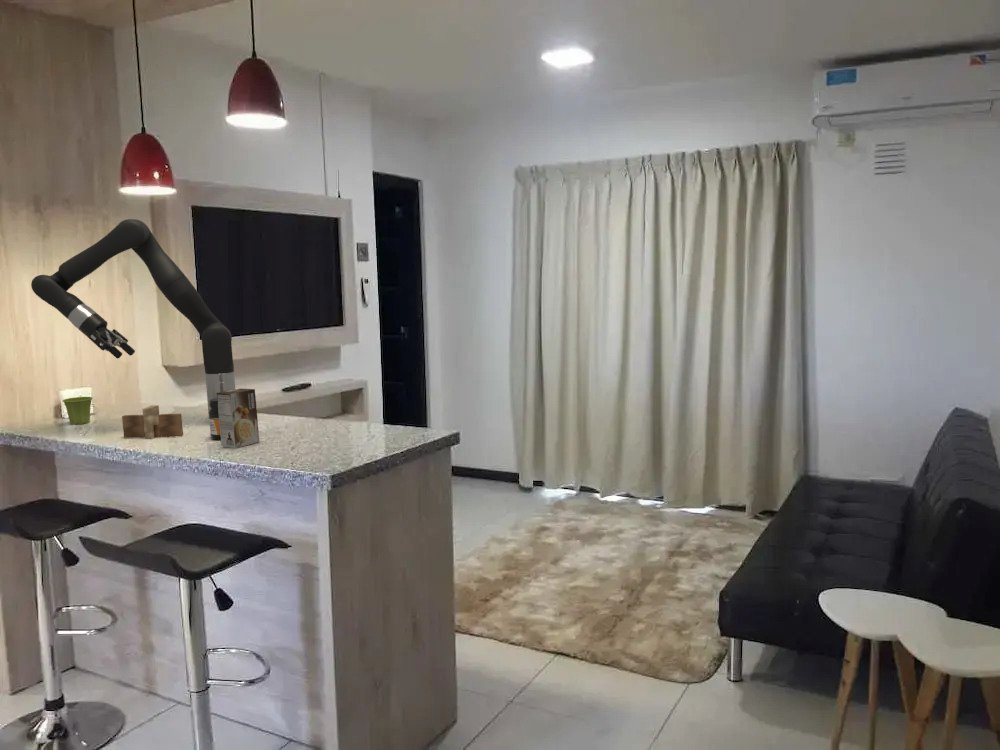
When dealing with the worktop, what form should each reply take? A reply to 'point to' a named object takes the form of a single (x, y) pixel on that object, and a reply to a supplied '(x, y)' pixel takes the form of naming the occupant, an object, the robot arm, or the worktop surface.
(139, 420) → the walnut board
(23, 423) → the worktop surface
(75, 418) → the plant pot
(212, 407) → the supplement container
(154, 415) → the wooden arch block
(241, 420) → the coffee box
